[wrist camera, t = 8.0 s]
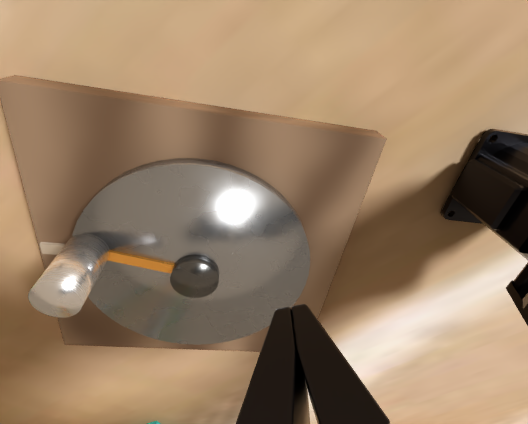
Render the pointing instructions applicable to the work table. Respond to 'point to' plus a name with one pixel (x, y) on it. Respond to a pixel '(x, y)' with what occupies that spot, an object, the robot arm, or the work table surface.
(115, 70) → the work table surface
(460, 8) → the work table surface
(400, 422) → the work table surface
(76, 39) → the work table surface
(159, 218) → the capstan dial
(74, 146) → the base plate
